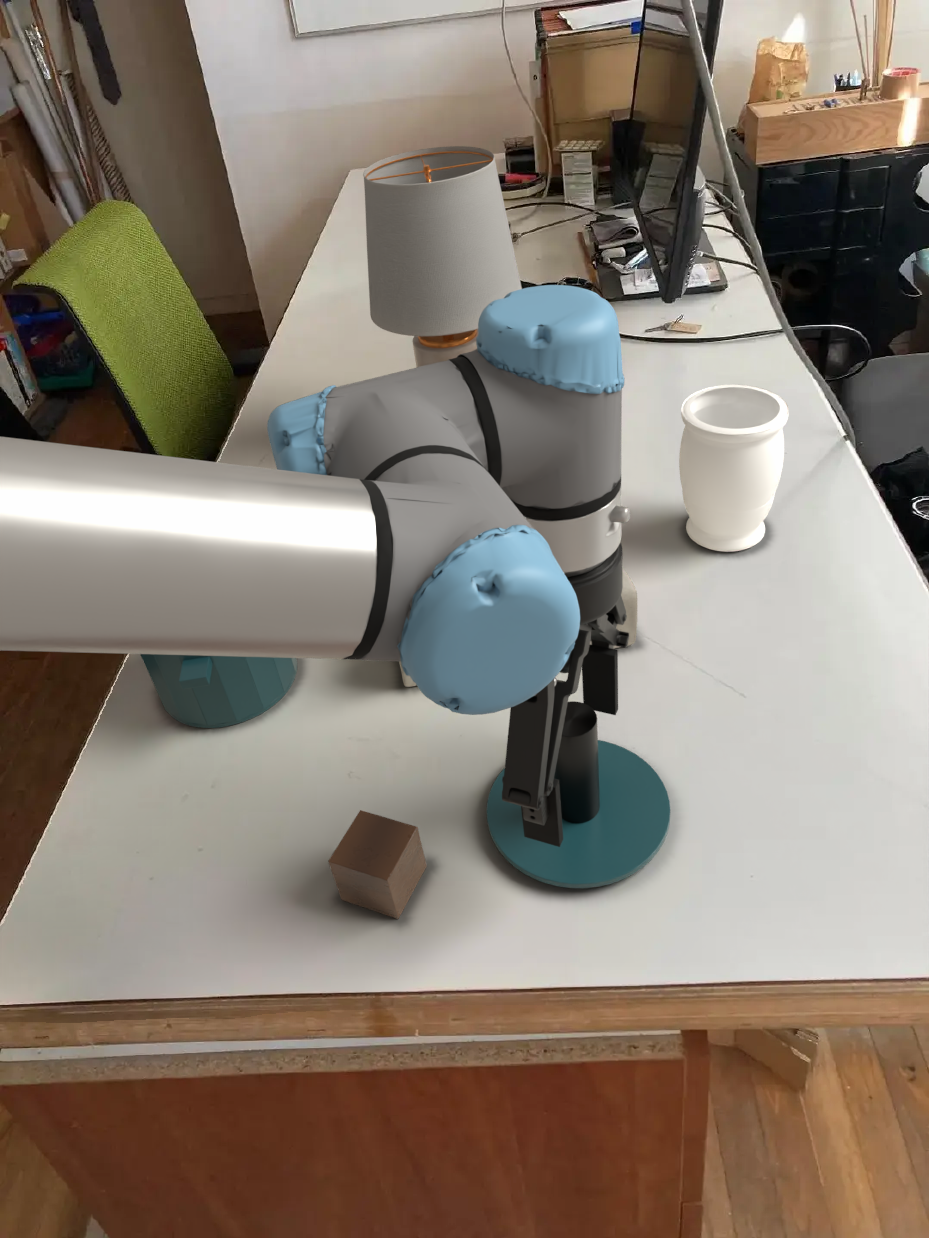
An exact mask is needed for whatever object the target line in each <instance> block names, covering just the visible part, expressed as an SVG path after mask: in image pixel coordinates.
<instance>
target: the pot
mask: <svg viewBox="0 0 929 1238" xmlns="http://www.w3.org/2000/svg"><path fill="white" fill-rule="evenodd" d="M139 655H140V656H141V659H142V661H143V664H144V666H145V668H146V670H147V672H148V675H149V677H150V679H151V681H152V684H153V686H154V688H155V690H156V693H157V695H158V697H159V700H160V701H161V704H162V706H163V708H164V710H165V712H167V713H168V715H169V716H170V717H172V718H173V719H174V720H176V721H177V722H179V723H181V724H183V725H186V726H189V727H194V728H200V729H201V728H202V729H217V728H225V727H230V726H235V725H238V724H242V723H244V722H247V721H250V720H252V719H253V718H256V717H258V716H260V715H262V714H264V713H265V712H267V711H268V710H270V709H271V708H272V707H274V706H275V705H276V704H277V703H279V701H280V700H282V699H283V697H285V695H286V694H287V693H288V692H289V690H290V689H291V687H292V686H293V684H294V683H295V680H296V677H297V672H298V660H297V659H298V658H277V657H238V656H199V655H160V654H139Z"/></svg>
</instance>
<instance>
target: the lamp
mask: <svg viewBox="0 0 929 1238" xmlns="http://www.w3.org/2000/svg"><path fill="white" fill-rule="evenodd" d="M497 168H498V167H497V163H496V157H495V154H494V153H493V152H492V151H490V150H488V149H485V148H481V147H476V146H467V145H466V146H465V145H461V146H459V145H455V146H453V145H451V146H449V145H448V146H436V147H428V148H421V149H416V150H411V151H406V152H402V153H398V154H394V155H391V156H388V157H385V158H382V159H380V160H377V161H376V162H374V163H372V164H370V165H369V166H368V167H366V168H365V169H364V171H363V174H362V176H363V185H364V186H363V187H364V207H365V230H366V231H365V232H366V233H365V234H366V235H365V236H366V255H367V256H366V257H367V275H368V277H367V278H368V296H369V314H370V319H371V321H372V322H373V324H375V326H377V327H378V328H380V329H382V330H383V331H387V332H389V333H391V334H392V333H393V334H396V335H401V336H402V335H403V336H410V337H412V341H411V342H412V348H413V355H414V361H415V368H417V367H421V366H425V365H429V364H433V363H437V362H441V361H447V360H449V359H453V358H456V357H457V356H458V355H460V354H463V353H467V352H471V351H473V350H476V349H477V345H476V338H477V336H478V322H479V318H480V315H481V313H482V311H483V310H484V309H485V308H486V307H487V306H488V304H490V303H491V302H493V301H494V300H497V299H503V298H504V297H505V296H506V295H507V294H508V293H510V292H513V291H516V290H520V289H523V287H522V282H521V277H520V274H519V268H518V264H517V258H516V254H515V253H516V252H515V249H514V243H513V239H512V235H511V234H512V233H511V230H510V224H509V220H508V215H507V211H506V206H505V202H504V197H503V191H502V187H501V183H500V177H499V173H498V169H497Z"/></svg>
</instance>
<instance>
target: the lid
mask: <svg viewBox="0 0 929 1238" xmlns="http://www.w3.org/2000/svg"><path fill="white" fill-rule="evenodd" d="M598 734H599V733H598V715H597V713H596V711H594V710H593V709H592V708H591V707H590V706H588V705H587V704H584V703H583V702H581V701H574V700H572V701H568V704H567V709H566V715H565V720H564V726H563V731H562V736H561V742H560V747H559V753H558V758H557V764H556V769H555V775H554V779H558V780H559V787H560V801H561V815H562V828H563V841H562V843H561V845H560V847H558V846H554V845H551V844H547V843H544V842H540V841H537V840H533V839H530V838H527V837H524V829H523V820H522V812H521V806H520V805H516V804H512V803H509V802H505V801H503V800H502V790H503V783H502V778H503V777H504V770H505V767H503V769H502V770H501V771H500V773H498V775H497V777H496V779H494V782H493V784H492V786H491V788H490V791H489V793H488V797H487V801H486V821H487V827H488V830H489V834H490V836H491V839H492V841H493V843H494V845H495V847H496V848H497V850H498V852H499V853H500V854H501V855H502V856H503V857H504V859H505V860H506V861H507V862H508V863H510V865H511V866H513V867H514V868H515V869H517V870H518V871H520V872H521V873H522V874H523V875H526V876H527V877H530V878H531V879H533V880H535V881H538V882H541V883H543V884H547V885H551V886H555V887H559V888H566V889H567V888H569V889H590V888H598V887H602V886H607V885H611V884H614V883H617V882H619V881H623V880H624V879H626V878H629V877H631V876H632V875H634V874H635V873H637V872H639V871H640V870H642V869H643V868H644V867H645V866H646V865H647V864H649V863H650V862H651V861H652V860H653V859H654V857H655V856H656V855H657V854H658V853H659V851H660V849H661V848H662V847H663V845H664V844H665V841H666V838H667V836H668V833H669V829H670V824H671V801H670V798H669V797H670V796H669V793H668V791H667V788H666V786H665V784H664V782H663V781H662V779H661V777H660V775H659V773H657V771H655V769H654V768H653V767H652V766H651V765H650V764H649V763H648V762H647V761H646V760H644V759H643V758H642V757H640V756H639V755H638V754H636V753H635V752H633V751H632V750H629V749H627V748H625V747H623V746H620V745H618V744H615V743H612V742H609V741H605V740H601V739H599V736H598Z"/></svg>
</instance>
